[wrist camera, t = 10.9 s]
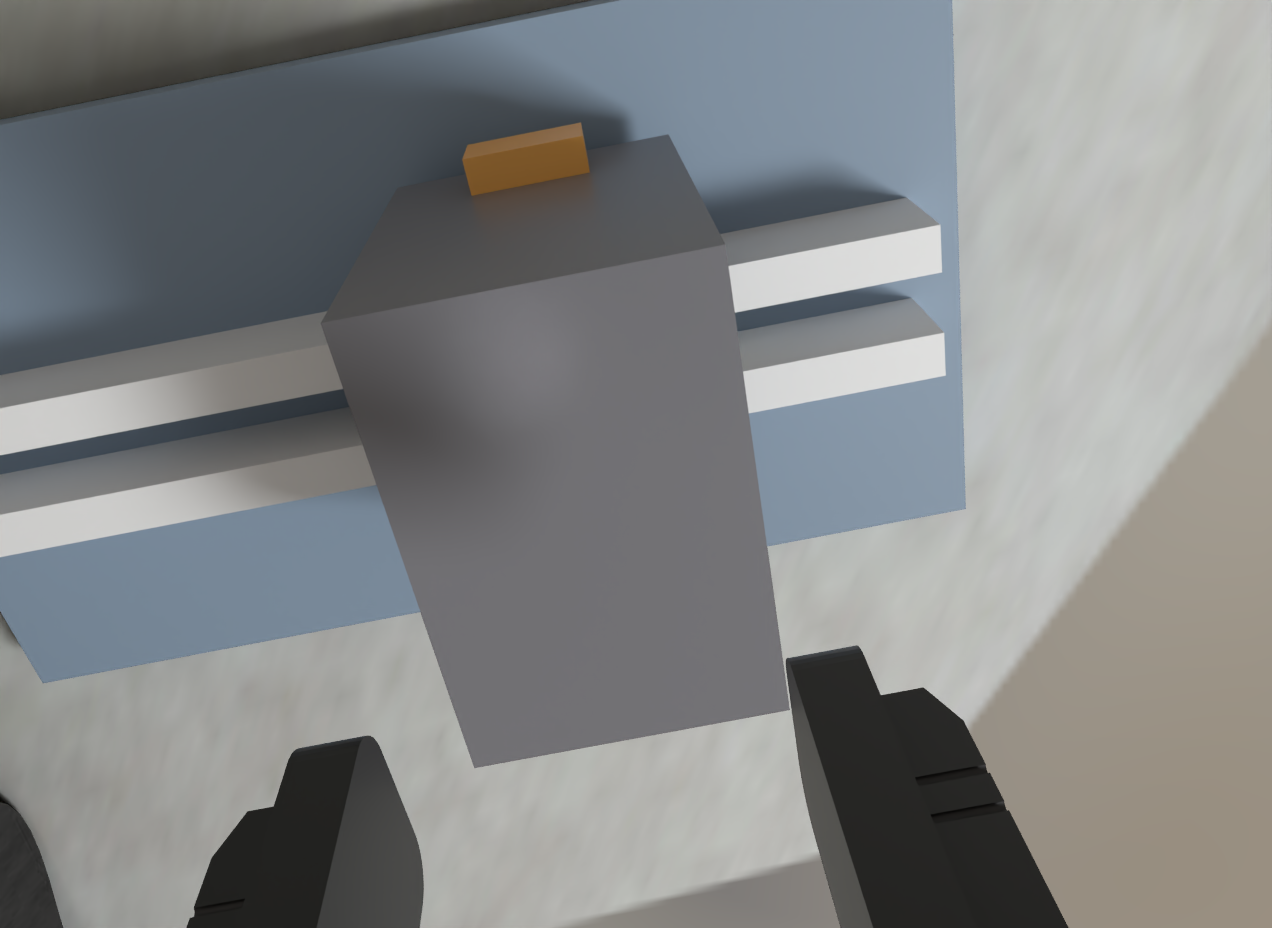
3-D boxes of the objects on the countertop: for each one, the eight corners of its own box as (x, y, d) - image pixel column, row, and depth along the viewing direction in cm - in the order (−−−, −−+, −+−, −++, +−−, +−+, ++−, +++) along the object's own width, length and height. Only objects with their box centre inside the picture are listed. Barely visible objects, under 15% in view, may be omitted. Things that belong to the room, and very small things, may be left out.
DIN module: (387, 154, 18) (304, 276, 12) (663, 99, 18) (719, 195, 12) (496, 531, 22) (474, 767, 16) (723, 487, 22) (789, 709, 16)
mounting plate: (-214, 162, 20) (-343, 205, 17) (928, -68, 19) (993, -65, 16) (64, 650, 25) (3, 743, 22) (948, 483, 25) (998, 556, 22)
